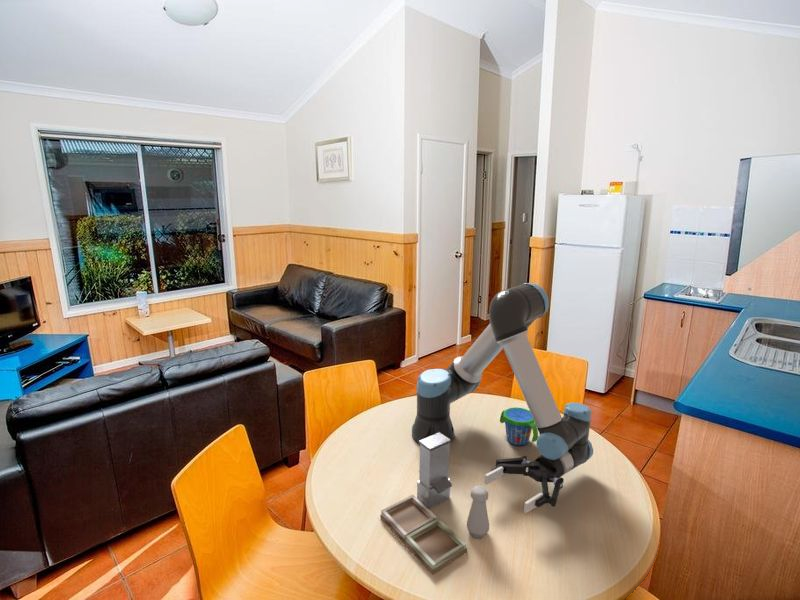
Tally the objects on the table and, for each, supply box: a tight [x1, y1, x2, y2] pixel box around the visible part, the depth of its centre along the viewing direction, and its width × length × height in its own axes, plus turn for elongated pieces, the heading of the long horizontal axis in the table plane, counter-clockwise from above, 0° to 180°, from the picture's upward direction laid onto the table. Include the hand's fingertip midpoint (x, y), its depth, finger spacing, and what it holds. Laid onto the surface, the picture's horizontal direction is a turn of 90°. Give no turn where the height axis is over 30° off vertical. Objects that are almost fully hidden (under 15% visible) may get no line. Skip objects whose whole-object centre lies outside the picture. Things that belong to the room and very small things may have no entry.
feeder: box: [416, 432, 453, 510], centre depth 122 cm, size 8×8×19 cm
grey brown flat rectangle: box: [380, 494, 469, 575], centre depth 113 cm, size 22×11×2 cm, turn 36°
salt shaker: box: [466, 485, 490, 540], centre depth 112 cm, size 6×6×13 cm
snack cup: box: [499, 407, 539, 446], centre depth 153 cm, size 16×10×10 cm
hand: (504, 493), depth 117 cm, fingers open, 13 cm apart
